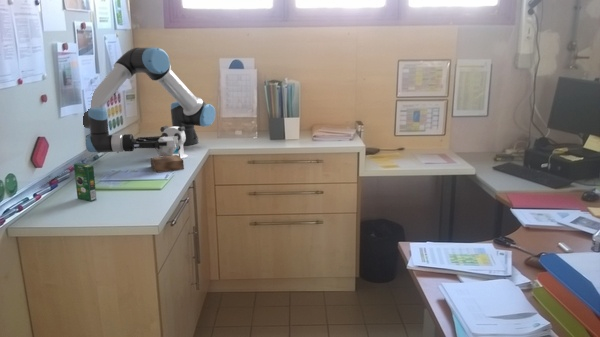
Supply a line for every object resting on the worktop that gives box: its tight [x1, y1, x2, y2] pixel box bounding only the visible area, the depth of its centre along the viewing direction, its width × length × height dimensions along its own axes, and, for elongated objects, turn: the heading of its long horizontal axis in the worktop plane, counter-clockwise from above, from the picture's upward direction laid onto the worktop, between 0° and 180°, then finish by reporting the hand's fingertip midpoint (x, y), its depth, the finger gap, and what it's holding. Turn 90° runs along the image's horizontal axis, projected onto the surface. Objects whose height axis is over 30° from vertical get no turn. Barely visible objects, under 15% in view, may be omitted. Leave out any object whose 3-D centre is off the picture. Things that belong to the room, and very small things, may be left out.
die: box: [155, 137, 177, 157], centre depth 239 cm, size 8×9×10 cm
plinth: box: [150, 155, 185, 173], centre depth 241 cm, size 12×12×4 cm
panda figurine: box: [160, 125, 189, 160], centre depth 261 cm, size 12×11×15 cm
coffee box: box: [73, 162, 97, 202], centre depth 196 cm, size 8×3×13 cm, turn 57°
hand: (176, 141), depth 239 cm, fingers closed on die, 8 cm apart
